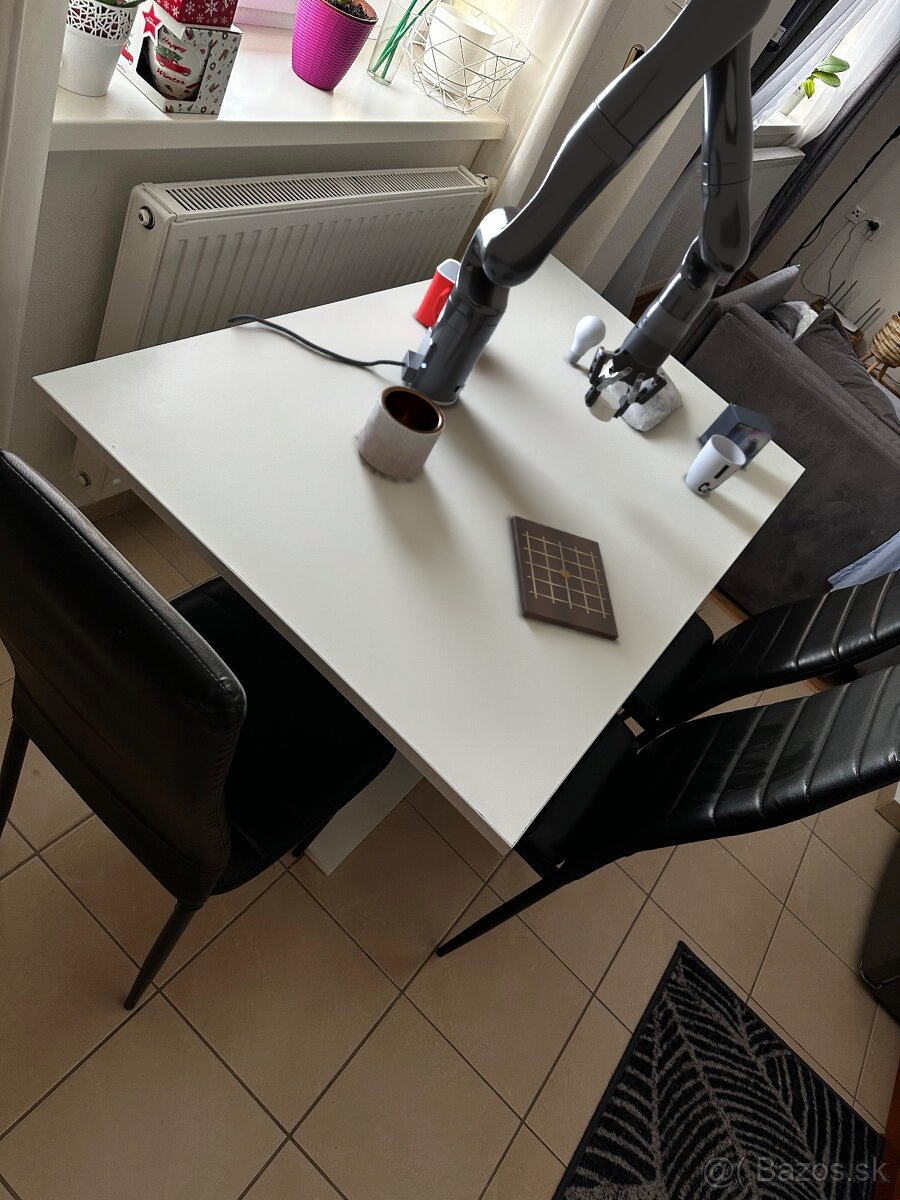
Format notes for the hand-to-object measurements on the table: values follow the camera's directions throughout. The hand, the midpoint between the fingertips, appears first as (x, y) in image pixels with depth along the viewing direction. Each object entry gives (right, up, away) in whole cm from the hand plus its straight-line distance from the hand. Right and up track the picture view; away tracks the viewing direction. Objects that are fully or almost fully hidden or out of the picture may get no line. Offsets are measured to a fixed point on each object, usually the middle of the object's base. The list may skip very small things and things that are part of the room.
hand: (600, 409), depth 151 cm
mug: (-30, +19, +15) cm, 38 cm away
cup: (+23, -11, +21) cm, 33 cm away
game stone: (0, 0, 0) cm, 1 cm away
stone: (+14, +10, +34) cm, 38 cm away
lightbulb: (-1, +17, +30) cm, 35 cm away
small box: (+32, -2, +34) cm, 47 cm away
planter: (-36, -11, -17) cm, 41 cm away
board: (-9, -30, -17) cm, 36 cm away
